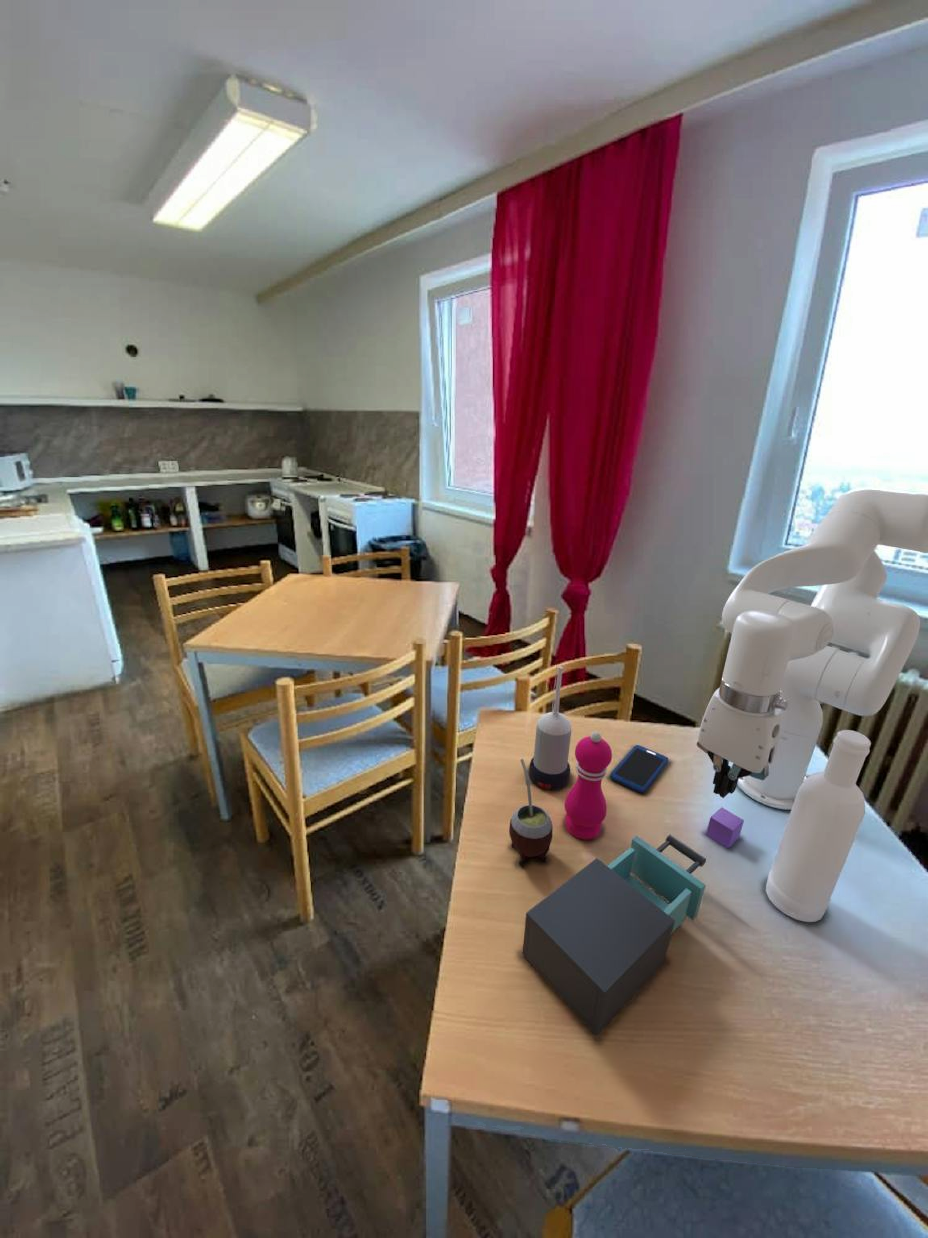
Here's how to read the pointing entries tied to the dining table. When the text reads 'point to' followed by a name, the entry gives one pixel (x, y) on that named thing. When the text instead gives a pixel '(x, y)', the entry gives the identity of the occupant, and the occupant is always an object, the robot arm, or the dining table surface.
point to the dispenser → (596, 942)
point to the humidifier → (552, 747)
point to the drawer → (663, 877)
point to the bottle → (820, 832)
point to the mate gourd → (530, 829)
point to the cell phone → (639, 768)
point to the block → (724, 827)
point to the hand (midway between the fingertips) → (722, 791)
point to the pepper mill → (588, 788)
